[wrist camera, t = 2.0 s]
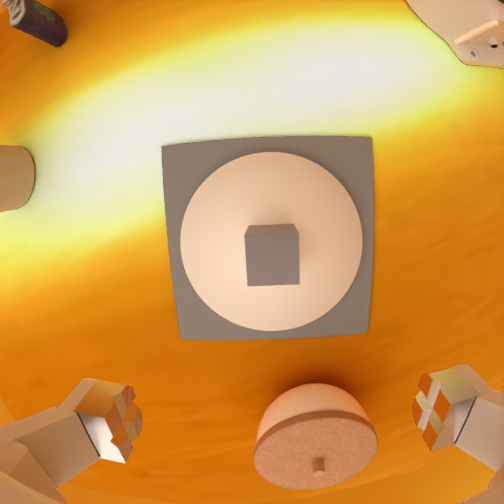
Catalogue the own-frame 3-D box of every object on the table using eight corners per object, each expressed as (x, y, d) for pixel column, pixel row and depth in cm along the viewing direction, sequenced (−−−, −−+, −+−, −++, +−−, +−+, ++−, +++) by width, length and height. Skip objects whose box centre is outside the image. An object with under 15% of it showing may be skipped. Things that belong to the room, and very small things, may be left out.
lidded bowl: (325, 445, 35) (336, 507, 24) (240, 422, 34) (232, 490, 24) (378, 380, 32) (408, 443, 22) (285, 349, 32) (292, 418, 21)
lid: (357, 151, 26) (379, 144, 21) (355, 321, 30) (372, 350, 24) (176, 160, 28) (154, 155, 22) (192, 327, 31) (178, 357, 25)
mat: (370, 138, 26) (371, 137, 26) (366, 331, 31) (367, 332, 30) (162, 146, 28) (161, 146, 27) (181, 337, 32) (181, 339, 32)
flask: (38, 20, 24) (-8, -5, 13) (53, 5, 23) (9, -24, 13) (56, 52, 25) (2, 25, 15) (73, 35, 25) (22, 3, 14)
